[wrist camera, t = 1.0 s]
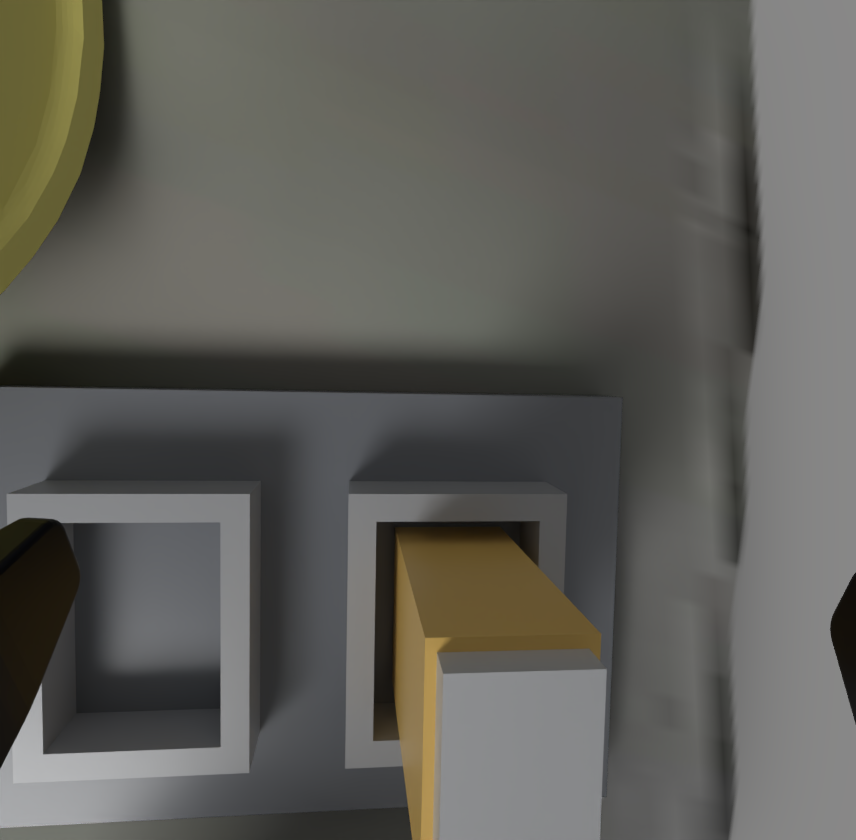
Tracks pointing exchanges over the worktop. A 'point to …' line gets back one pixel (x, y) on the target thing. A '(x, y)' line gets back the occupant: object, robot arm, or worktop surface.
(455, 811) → the block
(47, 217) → the plastic component
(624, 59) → the worktop surface
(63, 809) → the board
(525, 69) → the worktop surface
